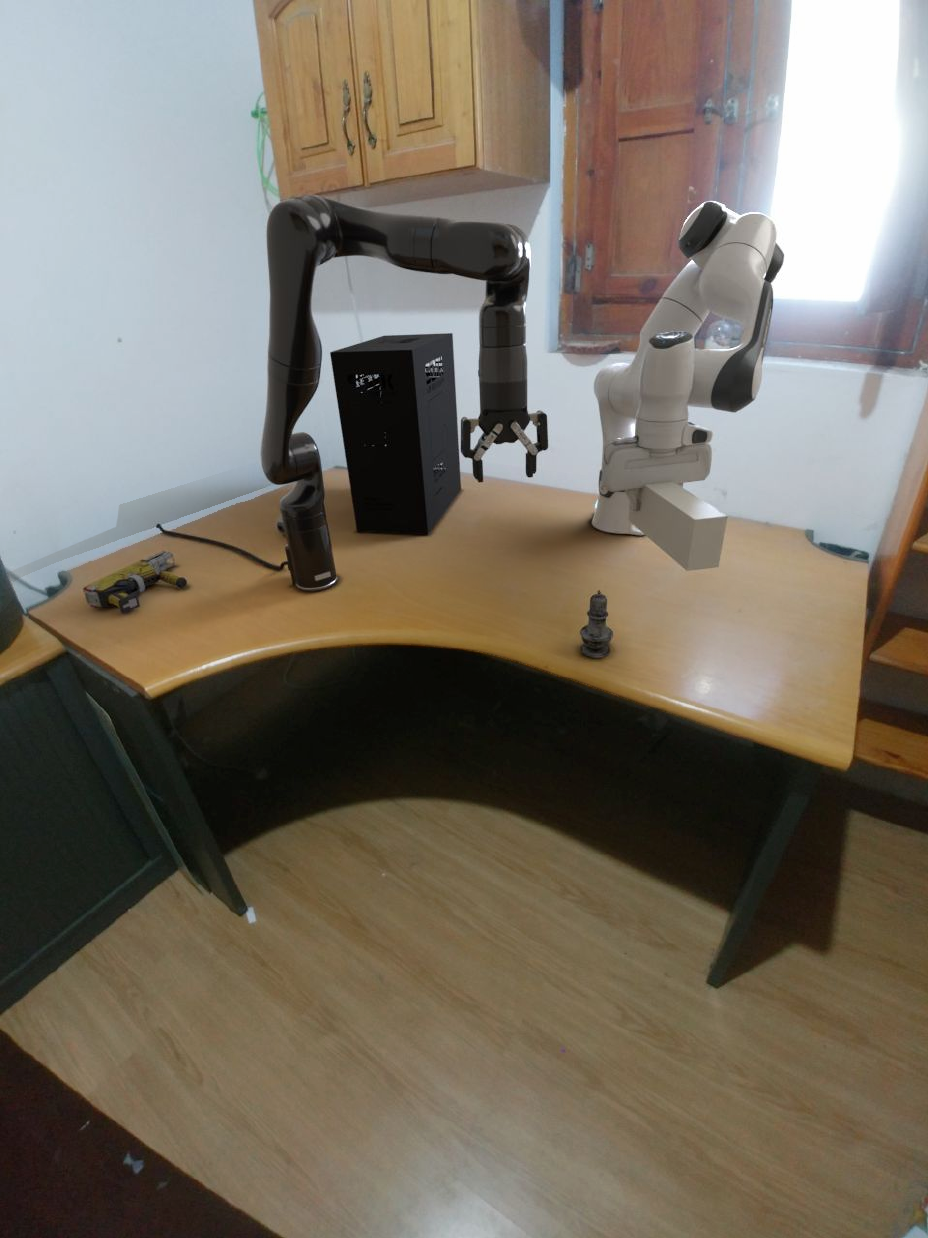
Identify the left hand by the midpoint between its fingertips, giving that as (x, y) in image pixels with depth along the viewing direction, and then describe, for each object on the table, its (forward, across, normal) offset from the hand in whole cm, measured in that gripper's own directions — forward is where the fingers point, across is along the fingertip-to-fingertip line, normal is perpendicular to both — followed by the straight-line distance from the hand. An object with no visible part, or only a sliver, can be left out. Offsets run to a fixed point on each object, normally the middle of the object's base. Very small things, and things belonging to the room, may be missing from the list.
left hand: (504, 478), depth 102 cm
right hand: (+10, +30, +5) cm, 31 cm away
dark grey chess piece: (+29, +13, -12) cm, 34 cm away
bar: (+14, +30, -4) cm, 33 cm away
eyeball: (+29, -46, +63) cm, 84 cm away
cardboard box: (+29, -11, +73) cm, 79 cm away
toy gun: (+29, -75, +37) cm, 89 cm away
